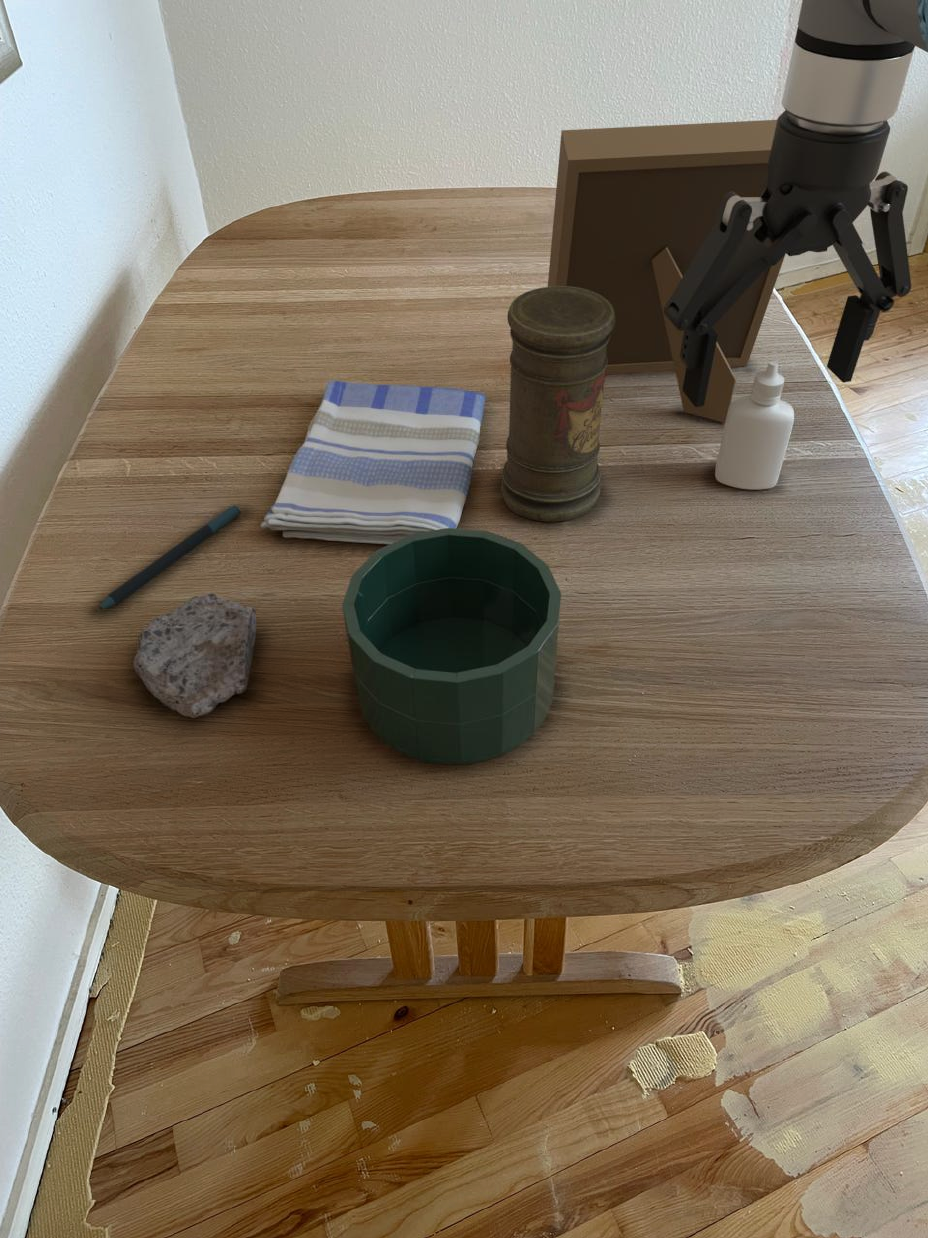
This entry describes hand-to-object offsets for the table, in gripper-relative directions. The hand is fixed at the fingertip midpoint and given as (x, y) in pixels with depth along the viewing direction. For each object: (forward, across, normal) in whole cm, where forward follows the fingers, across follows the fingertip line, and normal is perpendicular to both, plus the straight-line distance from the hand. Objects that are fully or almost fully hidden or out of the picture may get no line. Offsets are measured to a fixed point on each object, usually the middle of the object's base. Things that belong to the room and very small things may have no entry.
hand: (766, 386), depth 78 cm
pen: (+10, +52, -3) cm, 53 cm away
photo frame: (+10, +2, -17) cm, 20 cm away
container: (+10, +18, -3) cm, 21 cm away
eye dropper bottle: (+10, 0, 0) cm, 10 cm away
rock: (+10, +50, +10) cm, 52 cm away
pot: (+10, +32, +17) cm, 38 cm away
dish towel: (+10, +32, -11) cm, 35 cm away
